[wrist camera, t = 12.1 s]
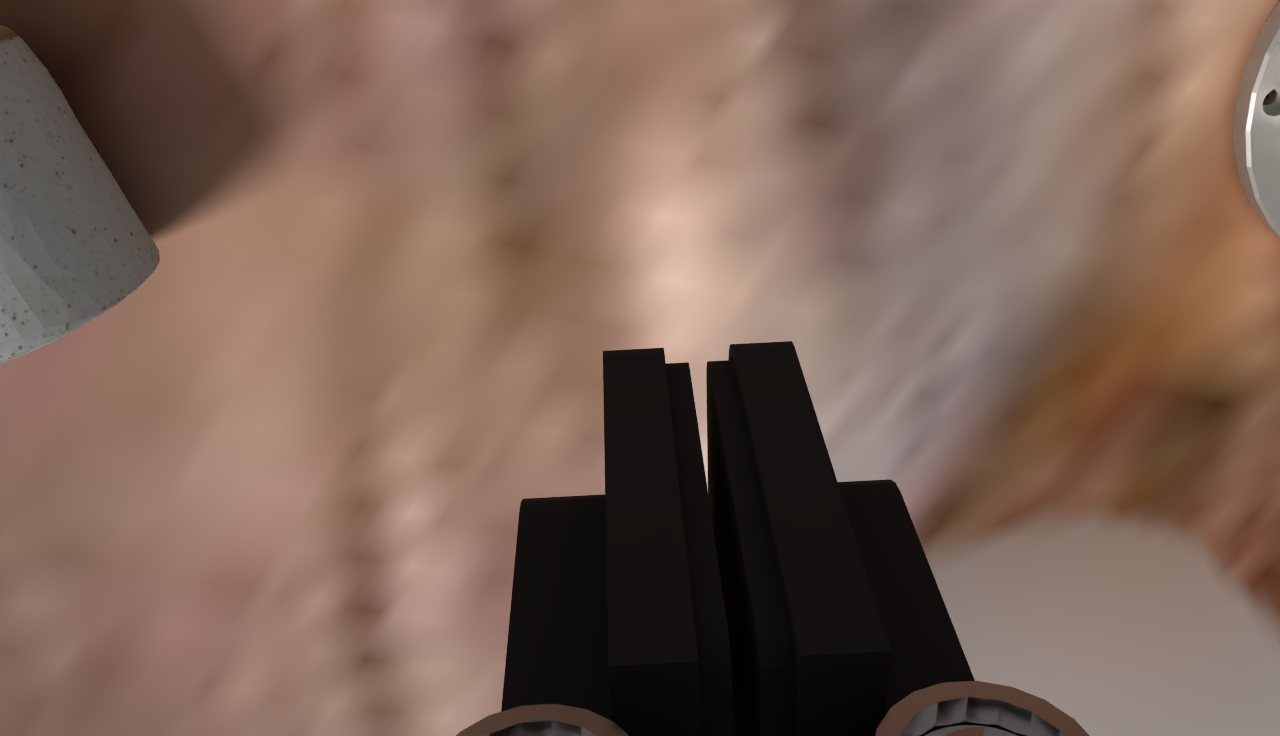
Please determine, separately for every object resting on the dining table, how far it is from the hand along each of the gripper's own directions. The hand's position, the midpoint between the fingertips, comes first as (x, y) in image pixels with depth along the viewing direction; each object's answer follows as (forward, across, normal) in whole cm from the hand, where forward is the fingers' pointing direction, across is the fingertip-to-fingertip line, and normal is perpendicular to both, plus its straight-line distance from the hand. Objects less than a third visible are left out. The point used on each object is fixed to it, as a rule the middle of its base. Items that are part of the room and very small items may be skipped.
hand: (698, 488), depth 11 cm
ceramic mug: (+27, +20, +6) cm, 34 cm away
